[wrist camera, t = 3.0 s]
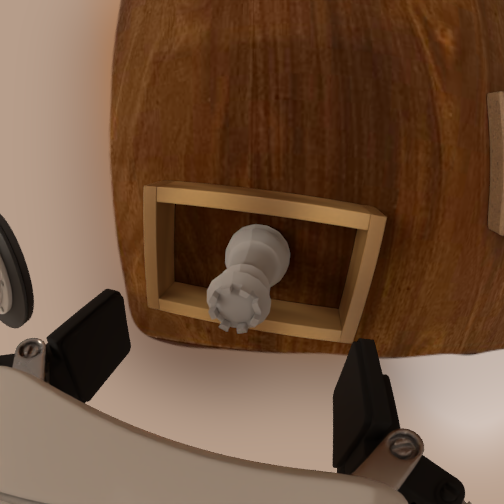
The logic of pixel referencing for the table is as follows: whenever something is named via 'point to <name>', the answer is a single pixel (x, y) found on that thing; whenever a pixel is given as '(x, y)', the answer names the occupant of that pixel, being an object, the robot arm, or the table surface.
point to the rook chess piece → (248, 277)
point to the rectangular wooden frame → (268, 203)
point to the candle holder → (496, 161)
